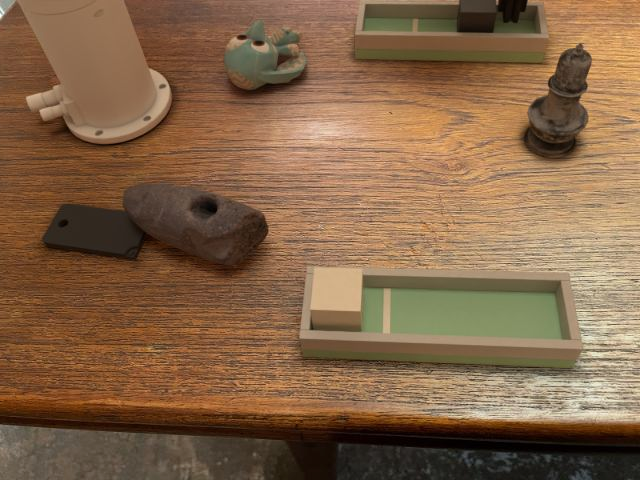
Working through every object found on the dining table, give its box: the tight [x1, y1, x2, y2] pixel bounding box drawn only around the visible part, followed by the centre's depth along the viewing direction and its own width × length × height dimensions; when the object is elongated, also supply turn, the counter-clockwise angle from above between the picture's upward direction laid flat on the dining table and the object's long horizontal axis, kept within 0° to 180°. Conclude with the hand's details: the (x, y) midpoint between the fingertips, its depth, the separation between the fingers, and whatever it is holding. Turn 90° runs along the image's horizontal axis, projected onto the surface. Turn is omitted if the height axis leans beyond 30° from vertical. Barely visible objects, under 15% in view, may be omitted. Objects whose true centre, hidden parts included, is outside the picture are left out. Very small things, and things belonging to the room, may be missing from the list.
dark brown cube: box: [457, 0, 497, 33], centre depth 72 cm, size 4×4×4 cm
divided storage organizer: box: [298, 265, 584, 369], centre depth 51 cm, size 22×7×4 cm, turn 85°
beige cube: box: [310, 267, 363, 332], centre depth 51 cm, size 4×4×4 cm
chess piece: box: [523, 42, 593, 159], centre depth 60 cm, size 6×6×12 cm
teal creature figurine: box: [223, 19, 308, 91], centre depth 72 cm, size 11×7×12 cm
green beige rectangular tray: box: [354, 0, 550, 64], centre depth 74 cm, size 22×7×4 cm, turn 83°
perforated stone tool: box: [122, 183, 269, 267], centre depth 57 cm, size 15×5×7 cm, turn 65°
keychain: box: [41, 203, 148, 260], centre depth 61 cm, size 5×1×10 cm
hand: (509, 15), depth 71 cm, fingers closed
